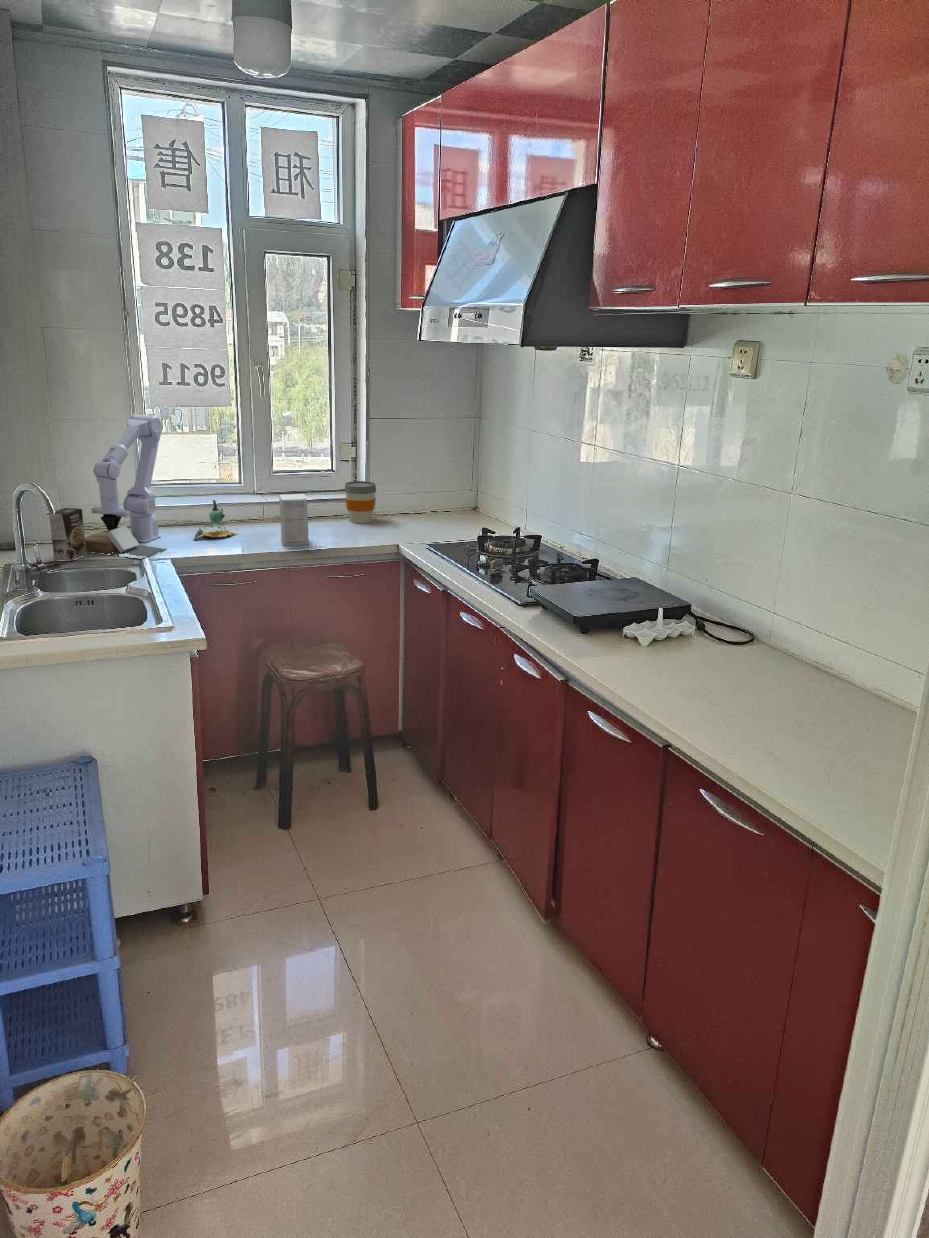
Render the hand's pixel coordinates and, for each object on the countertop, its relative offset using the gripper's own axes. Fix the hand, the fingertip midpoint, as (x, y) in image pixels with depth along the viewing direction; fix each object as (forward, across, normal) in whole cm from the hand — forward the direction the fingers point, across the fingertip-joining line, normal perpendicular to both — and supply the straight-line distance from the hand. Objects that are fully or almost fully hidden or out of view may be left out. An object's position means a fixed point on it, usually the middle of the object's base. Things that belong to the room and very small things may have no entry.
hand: (113, 535), depth 304 cm
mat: (+5, +10, 0) cm, 11 cm away
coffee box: (+5, -5, -15) cm, 17 cm away
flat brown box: (+5, -3, 0) cm, 6 cm away
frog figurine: (+5, +20, +30) cm, 36 cm away
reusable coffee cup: (+5, +57, +77) cm, 96 cm away
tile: (+1, +4, 0) cm, 4 cm away
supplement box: (+5, +50, +36) cm, 62 cm away
